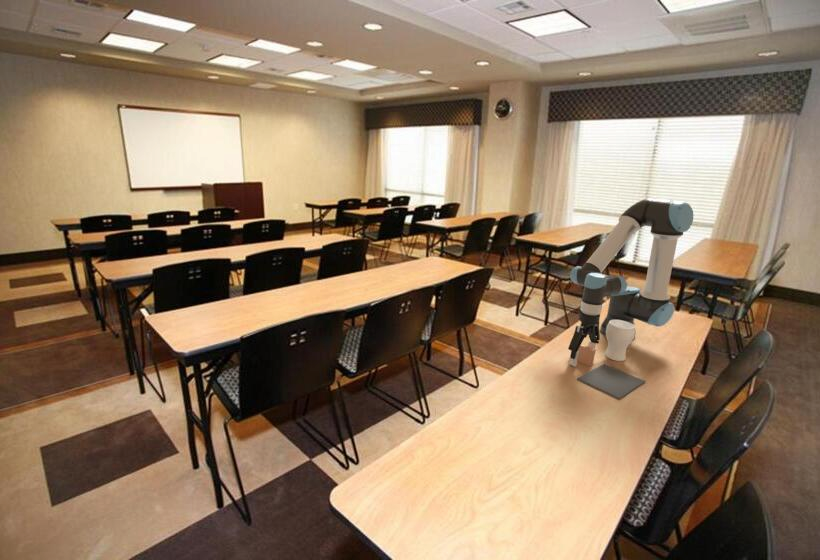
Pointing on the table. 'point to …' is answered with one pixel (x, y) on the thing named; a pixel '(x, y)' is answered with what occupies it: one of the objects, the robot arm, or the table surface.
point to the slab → (586, 355)
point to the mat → (611, 381)
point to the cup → (618, 339)
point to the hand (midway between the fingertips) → (581, 360)
